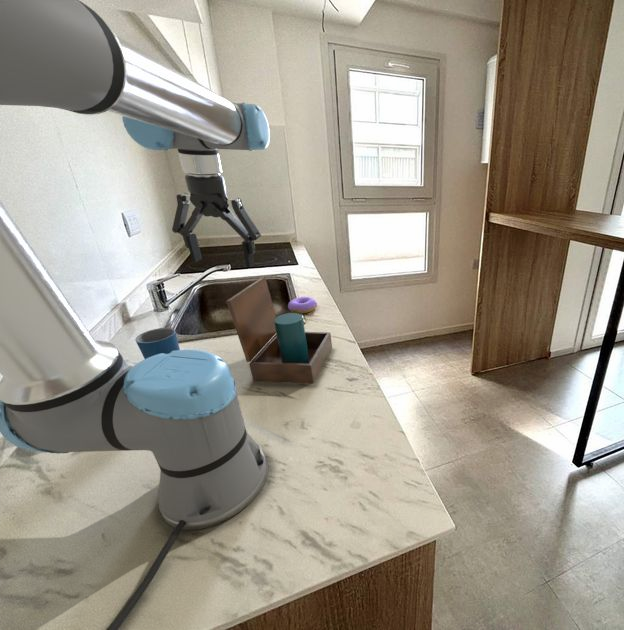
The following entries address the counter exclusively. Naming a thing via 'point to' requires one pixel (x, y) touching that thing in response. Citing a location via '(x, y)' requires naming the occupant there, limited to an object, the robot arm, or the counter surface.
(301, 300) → the donut
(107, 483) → the counter surface
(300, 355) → the can
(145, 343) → the cup
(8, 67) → the robot arm
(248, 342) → the lid
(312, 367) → the chest
